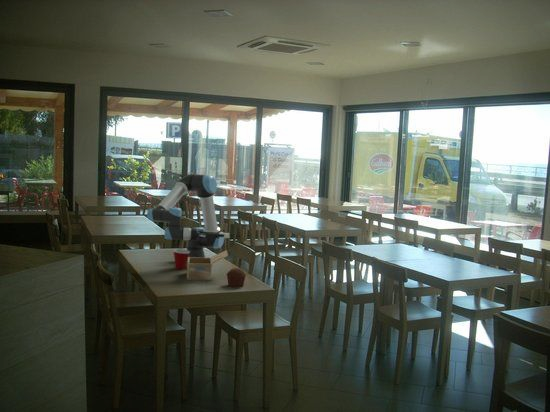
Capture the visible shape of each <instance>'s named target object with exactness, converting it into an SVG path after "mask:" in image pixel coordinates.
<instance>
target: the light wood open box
mask: <svg viewBox="0 0 550 412" xmlns="http://www.w3.org/2000/svg"><path fill="white" fill-rule="evenodd" d="M186 265H187V268H186V280H188V281H212V271H213V270H212V268H213V264H212V259H211V257H205V258H201V257H188V262H186Z"/></svg>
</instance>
